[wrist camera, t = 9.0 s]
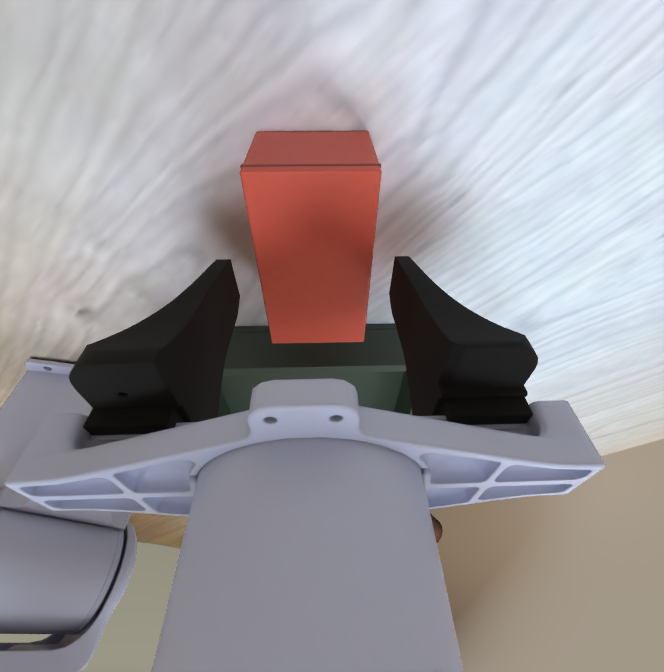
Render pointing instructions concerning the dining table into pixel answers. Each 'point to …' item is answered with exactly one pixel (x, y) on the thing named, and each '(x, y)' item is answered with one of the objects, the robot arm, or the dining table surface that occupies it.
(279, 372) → the tote
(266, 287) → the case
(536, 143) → the dining table surface
